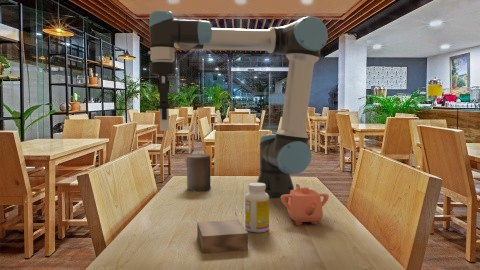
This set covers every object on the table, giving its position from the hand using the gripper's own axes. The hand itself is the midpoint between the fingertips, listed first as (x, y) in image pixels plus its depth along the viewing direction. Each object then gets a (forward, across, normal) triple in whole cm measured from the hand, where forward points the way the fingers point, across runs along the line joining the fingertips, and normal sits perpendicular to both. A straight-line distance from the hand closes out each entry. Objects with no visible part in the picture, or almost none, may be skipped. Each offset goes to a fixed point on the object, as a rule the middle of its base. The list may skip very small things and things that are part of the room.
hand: (164, 129), depth 127 cm
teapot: (+27, +19, +40) cm, 52 cm away
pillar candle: (+27, -30, +14) cm, 43 cm away
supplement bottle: (+27, +24, +24) cm, 44 cm away
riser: (+27, +33, +13) cm, 44 cm away
